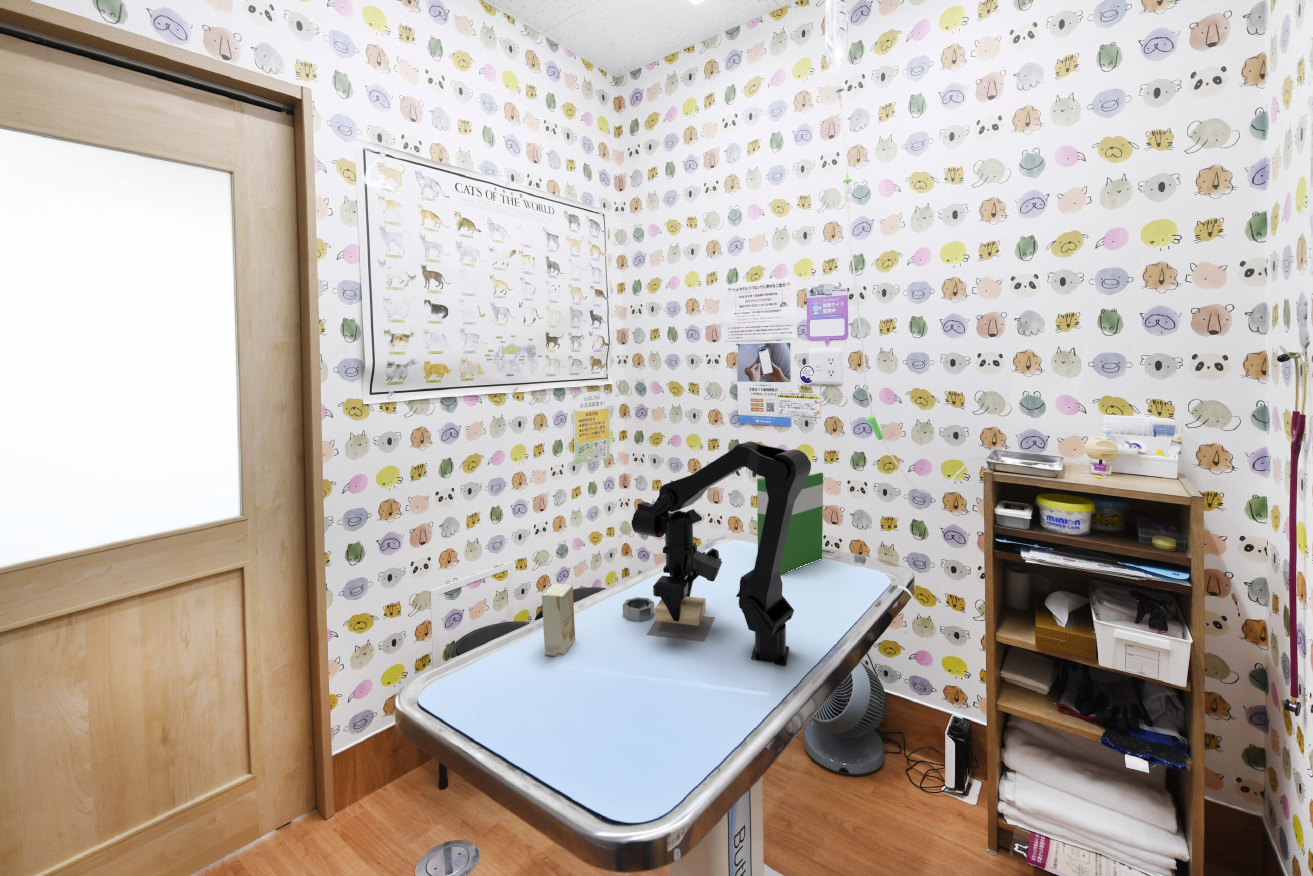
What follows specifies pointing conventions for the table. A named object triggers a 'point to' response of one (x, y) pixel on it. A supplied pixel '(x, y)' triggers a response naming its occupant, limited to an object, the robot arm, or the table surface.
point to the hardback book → (799, 523)
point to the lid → (683, 611)
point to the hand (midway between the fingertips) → (681, 613)
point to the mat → (682, 629)
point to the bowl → (638, 609)
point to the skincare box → (558, 619)
